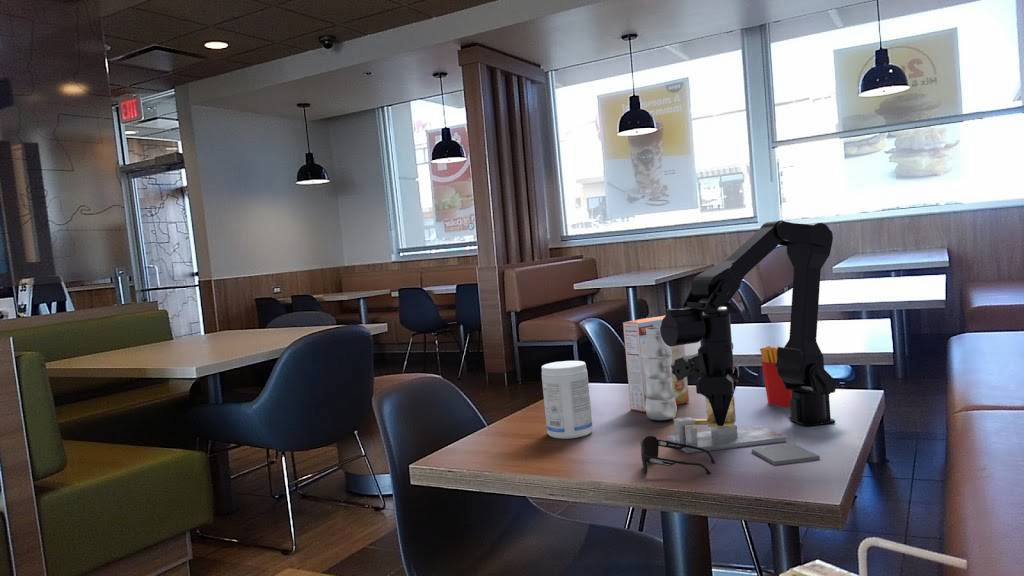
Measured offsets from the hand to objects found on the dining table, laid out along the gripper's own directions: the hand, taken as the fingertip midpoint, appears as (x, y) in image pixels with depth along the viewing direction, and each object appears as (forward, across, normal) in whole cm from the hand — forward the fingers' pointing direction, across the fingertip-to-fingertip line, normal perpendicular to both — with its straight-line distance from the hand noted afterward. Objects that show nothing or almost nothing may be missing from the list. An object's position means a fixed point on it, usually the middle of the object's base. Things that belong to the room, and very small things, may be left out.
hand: (721, 422), depth 134 cm
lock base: (+3, +1, 0) cm, 4 cm away
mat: (+3, +10, +11) cm, 15 cm away
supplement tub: (+4, -2, -31) cm, 31 cm away
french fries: (+4, -31, +10) cm, 33 cm away
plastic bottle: (+4, -15, -14) cm, 21 cm away
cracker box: (+4, -28, -17) cm, 33 cm away
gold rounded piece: (0, 0, -2) cm, 2 cm away
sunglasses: (+4, +18, -6) cm, 19 cm away
